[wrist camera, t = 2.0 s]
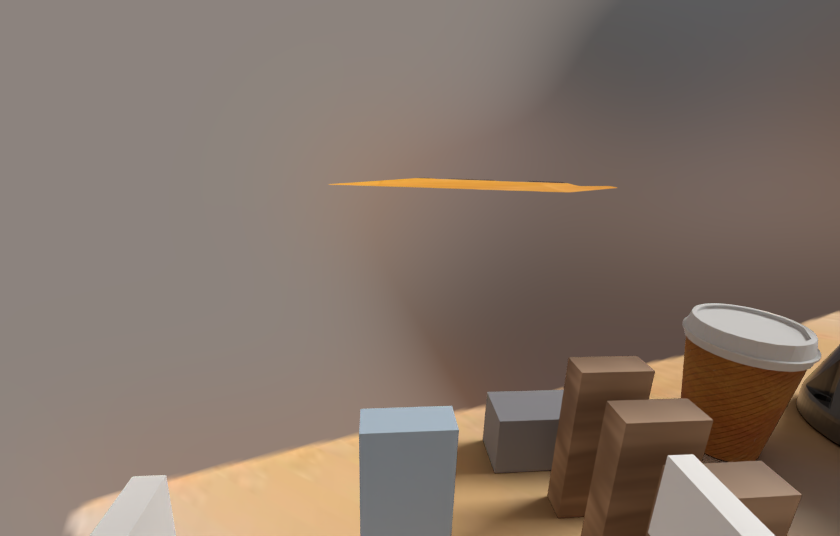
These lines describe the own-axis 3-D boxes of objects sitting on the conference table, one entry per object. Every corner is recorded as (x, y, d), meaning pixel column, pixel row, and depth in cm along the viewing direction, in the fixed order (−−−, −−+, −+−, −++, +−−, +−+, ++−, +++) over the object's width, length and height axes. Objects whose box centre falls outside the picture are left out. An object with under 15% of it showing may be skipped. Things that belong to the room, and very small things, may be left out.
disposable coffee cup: (748, 494, 33) (794, 359, 30) (638, 424, 41) (663, 311, 37) (802, 455, 38) (847, 334, 34) (693, 398, 45) (720, 295, 42)
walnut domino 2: (667, 582, 26) (713, 420, 23) (591, 588, 26) (626, 423, 22) (647, 552, 28) (687, 398, 25) (576, 557, 28) (606, 401, 24)
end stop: (632, 466, 36) (643, 416, 34) (494, 473, 34) (499, 421, 33) (607, 434, 39) (616, 388, 38) (482, 439, 38) (487, 392, 37)
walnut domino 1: (622, 514, 31) (655, 370, 27) (558, 518, 30) (582, 372, 27) (608, 492, 33) (637, 355, 29) (547, 495, 32) (568, 357, 29)
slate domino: (446, 600, 25) (458, 429, 21) (361, 607, 24) (359, 433, 21) (441, 567, 27) (452, 405, 23) (362, 572, 26) (360, 408, 23)
